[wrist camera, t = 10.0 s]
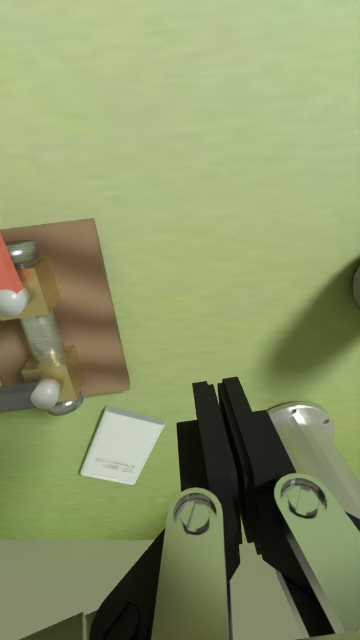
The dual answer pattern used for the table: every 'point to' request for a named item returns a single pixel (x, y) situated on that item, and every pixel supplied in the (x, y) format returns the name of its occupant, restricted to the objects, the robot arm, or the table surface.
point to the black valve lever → (30, 395)
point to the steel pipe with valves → (45, 328)
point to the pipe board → (72, 308)
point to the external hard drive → (121, 445)
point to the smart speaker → (357, 286)
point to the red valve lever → (10, 286)
